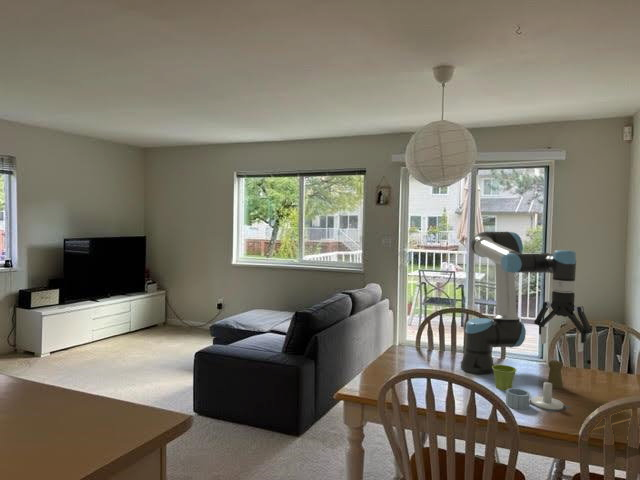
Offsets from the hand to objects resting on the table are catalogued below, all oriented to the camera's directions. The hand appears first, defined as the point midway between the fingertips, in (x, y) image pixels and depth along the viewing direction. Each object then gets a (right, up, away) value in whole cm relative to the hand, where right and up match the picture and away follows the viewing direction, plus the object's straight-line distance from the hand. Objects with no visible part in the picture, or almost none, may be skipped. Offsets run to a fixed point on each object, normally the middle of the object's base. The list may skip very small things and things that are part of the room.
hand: (561, 347), depth 178 cm
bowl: (-17, -22, -1) cm, 28 cm away
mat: (-5, -22, 0) cm, 23 cm away
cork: (+8, -22, +21) cm, 31 cm away
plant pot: (-15, -21, +17) cm, 31 cm away
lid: (-5, -21, 0) cm, 22 cm away
